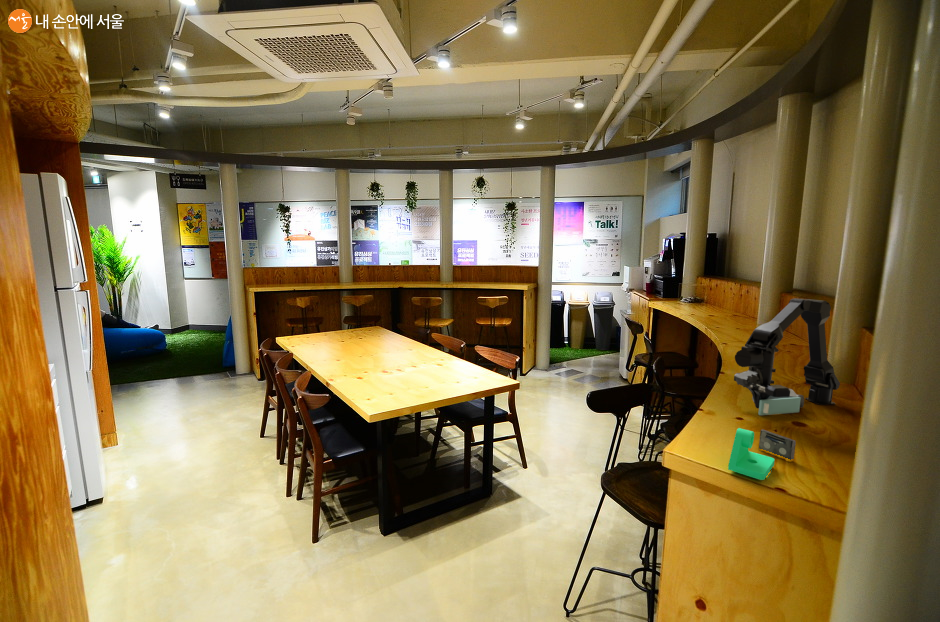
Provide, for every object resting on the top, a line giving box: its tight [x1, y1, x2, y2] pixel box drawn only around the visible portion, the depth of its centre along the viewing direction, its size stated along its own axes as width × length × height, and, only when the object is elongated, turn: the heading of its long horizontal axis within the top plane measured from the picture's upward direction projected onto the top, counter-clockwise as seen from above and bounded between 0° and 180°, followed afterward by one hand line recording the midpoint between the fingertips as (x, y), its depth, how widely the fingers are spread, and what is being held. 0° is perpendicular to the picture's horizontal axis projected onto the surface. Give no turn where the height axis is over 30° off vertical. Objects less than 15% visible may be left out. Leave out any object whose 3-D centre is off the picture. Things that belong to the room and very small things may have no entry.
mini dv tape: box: [758, 429, 796, 460], centre depth 120 cm, size 8×2×6 cm, turn 26°
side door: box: [758, 397, 801, 416], centre depth 150 cm, size 16×2×5 cm, turn 102°
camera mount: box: [727, 427, 775, 481], centre depth 112 cm, size 12×8×10 cm, turn 134°
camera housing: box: [751, 388, 805, 408], centre depth 159 cm, size 14×10×6 cm
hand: (757, 408), depth 152 cm, fingers closed
